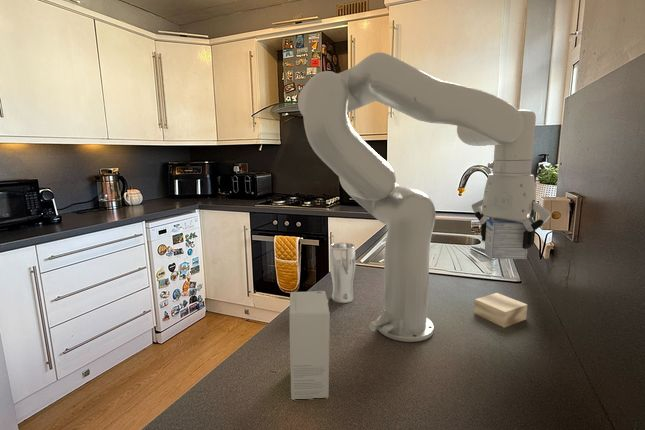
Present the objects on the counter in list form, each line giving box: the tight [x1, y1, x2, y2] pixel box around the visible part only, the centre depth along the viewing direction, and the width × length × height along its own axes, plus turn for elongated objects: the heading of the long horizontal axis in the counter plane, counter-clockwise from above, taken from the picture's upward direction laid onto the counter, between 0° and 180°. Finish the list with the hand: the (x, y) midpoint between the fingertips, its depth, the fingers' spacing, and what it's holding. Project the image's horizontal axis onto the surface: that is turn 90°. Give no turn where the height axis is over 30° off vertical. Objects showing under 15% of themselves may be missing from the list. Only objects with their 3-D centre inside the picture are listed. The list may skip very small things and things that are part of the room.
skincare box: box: [289, 290, 331, 400], centre depth 59 cm, size 8×7×16 cm
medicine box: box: [484, 218, 528, 260], centre depth 81 cm, size 8×4×9 cm, turn 84°
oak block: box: [473, 292, 528, 328], centre depth 84 cm, size 8×8×4 cm
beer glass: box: [329, 242, 356, 304], centre depth 94 cm, size 7×7×15 cm
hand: (505, 243), depth 81 cm, fingers closed on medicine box, 8 cm apart
